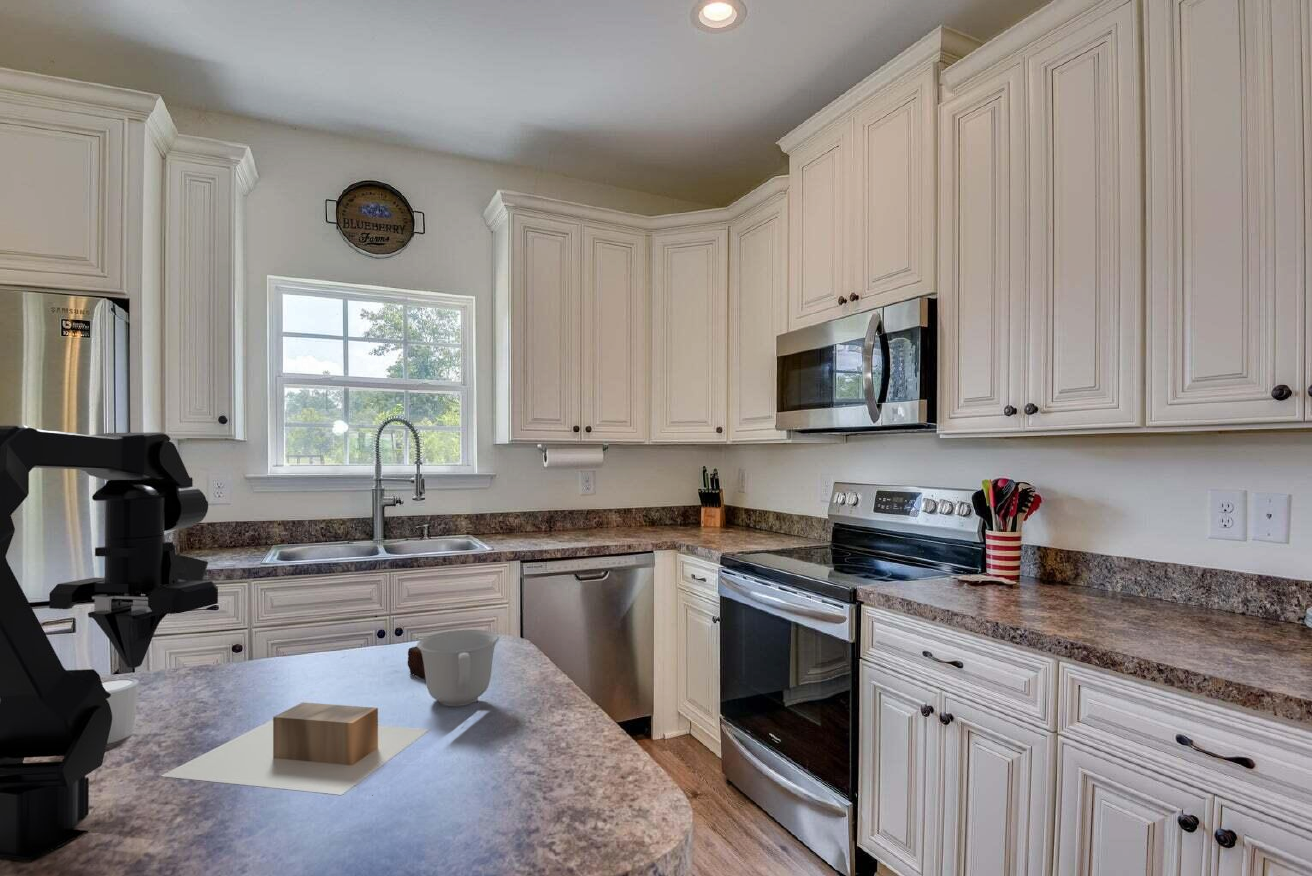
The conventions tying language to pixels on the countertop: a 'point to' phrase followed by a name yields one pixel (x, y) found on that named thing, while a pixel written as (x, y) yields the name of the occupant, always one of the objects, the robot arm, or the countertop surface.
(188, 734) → the countertop surface
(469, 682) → the teacup
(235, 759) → the cutting board
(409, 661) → the brick
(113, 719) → the white tapered cup
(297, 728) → the walnut block
